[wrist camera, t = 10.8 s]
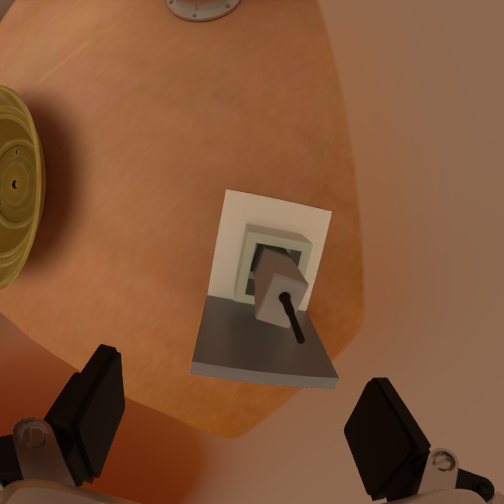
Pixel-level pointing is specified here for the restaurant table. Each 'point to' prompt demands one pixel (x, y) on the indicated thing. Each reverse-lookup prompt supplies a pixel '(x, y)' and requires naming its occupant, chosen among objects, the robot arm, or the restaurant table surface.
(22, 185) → the planter bowl
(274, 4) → the restaurant table surface
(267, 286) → the vintage mobile phone
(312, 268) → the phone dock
